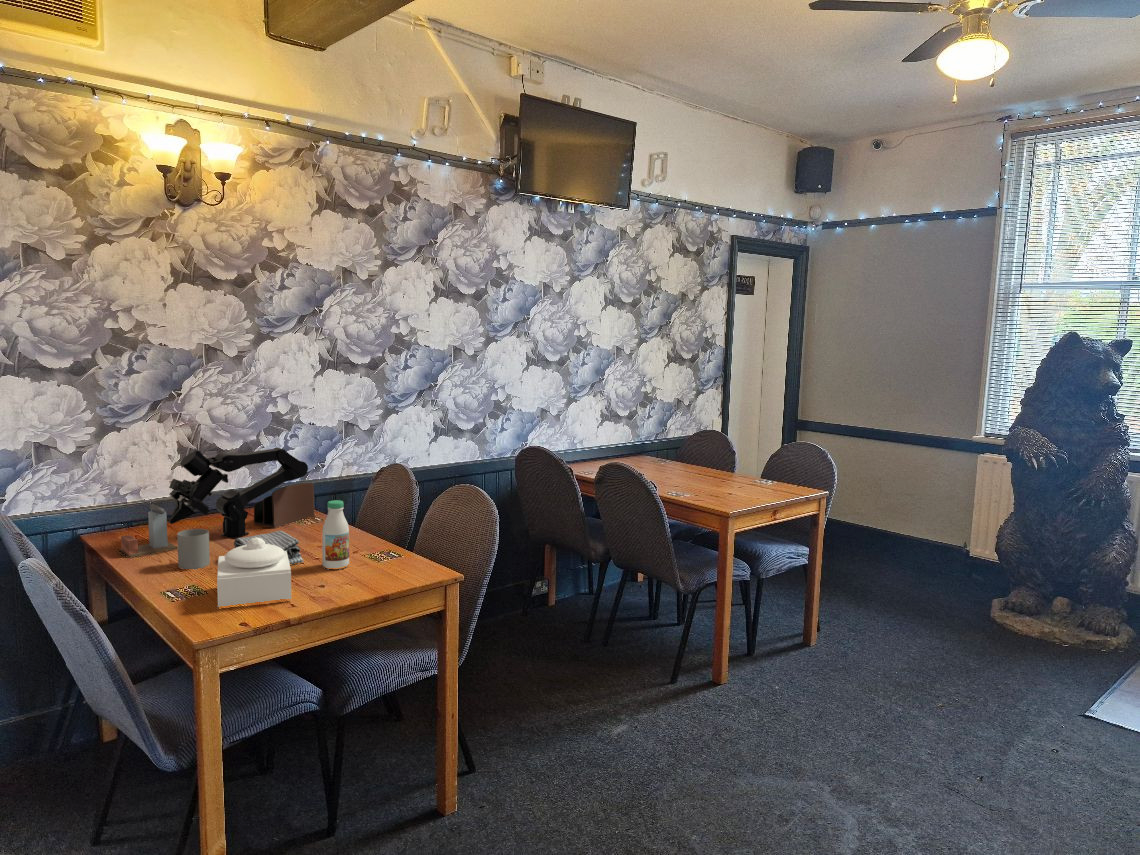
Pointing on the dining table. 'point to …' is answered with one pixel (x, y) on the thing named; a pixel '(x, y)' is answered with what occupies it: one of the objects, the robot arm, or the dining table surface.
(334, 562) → the milk bottle
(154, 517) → the grey t-shaped piece
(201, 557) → the cup
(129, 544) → the tan base plate
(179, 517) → the robot arm
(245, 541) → the towel
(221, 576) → the white block with dome
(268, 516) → the letter holder
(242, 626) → the dining table surface
